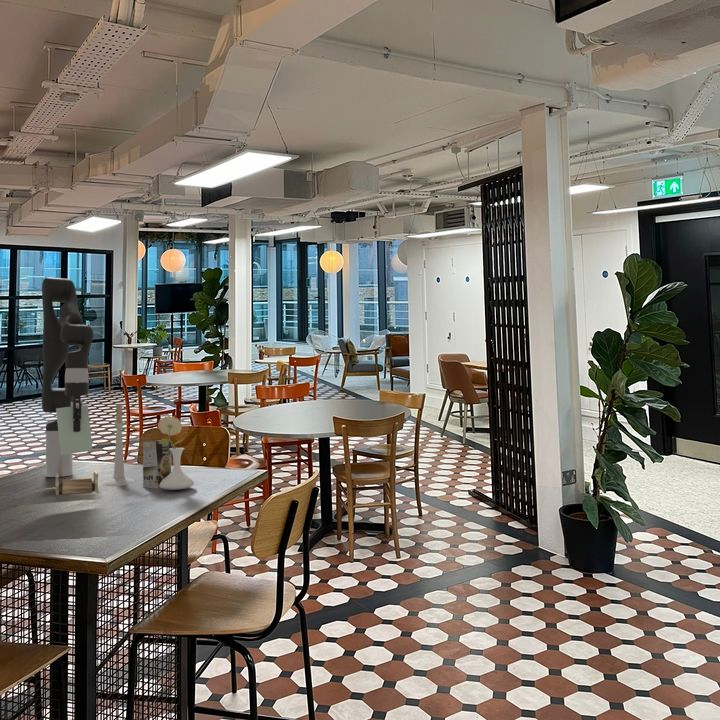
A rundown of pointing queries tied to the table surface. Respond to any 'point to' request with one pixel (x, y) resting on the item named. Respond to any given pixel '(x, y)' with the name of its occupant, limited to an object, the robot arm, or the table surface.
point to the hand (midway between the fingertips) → (76, 431)
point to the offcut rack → (94, 483)
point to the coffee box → (155, 463)
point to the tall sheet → (67, 436)
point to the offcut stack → (76, 485)
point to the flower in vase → (174, 456)
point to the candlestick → (118, 455)
